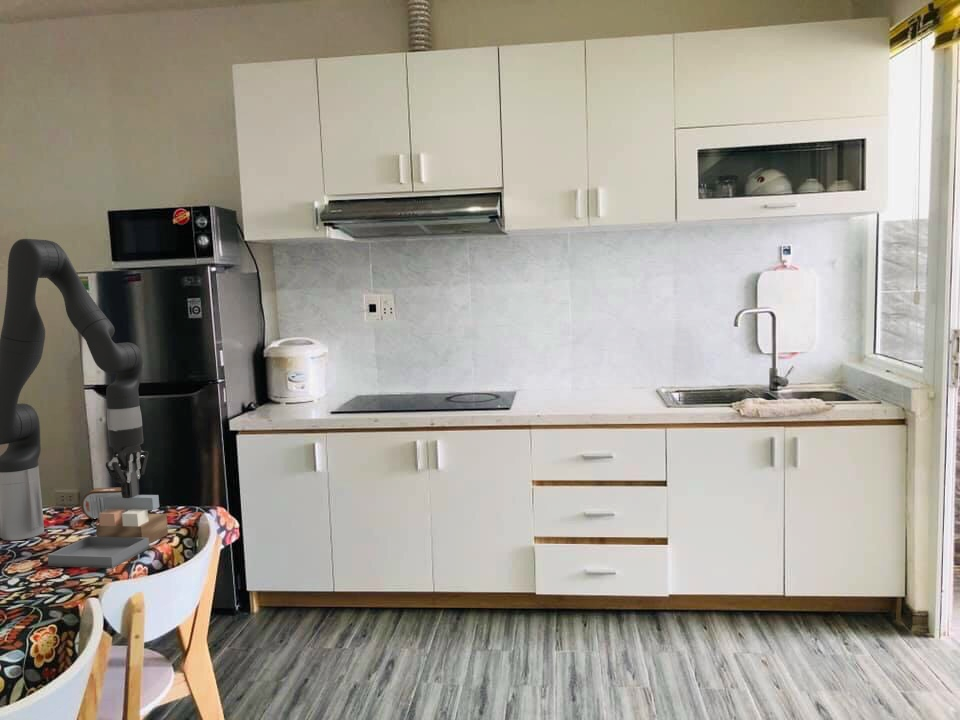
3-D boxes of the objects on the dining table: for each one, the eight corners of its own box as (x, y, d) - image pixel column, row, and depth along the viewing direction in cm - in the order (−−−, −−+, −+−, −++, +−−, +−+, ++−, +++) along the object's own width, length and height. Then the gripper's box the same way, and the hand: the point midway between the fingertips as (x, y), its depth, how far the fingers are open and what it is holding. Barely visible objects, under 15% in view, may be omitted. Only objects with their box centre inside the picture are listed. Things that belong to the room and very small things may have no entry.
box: (48, 565, 165) (47, 555, 165) (89, 546, 178) (88, 536, 178) (112, 568, 162) (111, 557, 162) (149, 548, 175) (148, 537, 175)
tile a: (100, 525, 177) (98, 513, 177) (111, 520, 181) (110, 508, 181) (115, 526, 176) (114, 513, 176) (125, 520, 180) (124, 508, 180)
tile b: (122, 526, 176) (121, 513, 176) (133, 521, 180) (132, 508, 180) (138, 526, 175) (137, 513, 175) (148, 521, 179) (147, 509, 179)
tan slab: (97, 546, 178) (96, 525, 177) (125, 532, 187) (123, 513, 187) (142, 547, 175) (141, 526, 175) (168, 533, 185) (166, 514, 185)
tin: (142, 515, 202) (140, 485, 202) (137, 519, 199) (135, 488, 198) (86, 518, 202) (84, 488, 201) (80, 522, 199) (78, 491, 198)
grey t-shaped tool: (104, 509, 181) (101, 464, 180) (111, 506, 183) (107, 462, 183) (153, 510, 179) (149, 465, 178) (159, 507, 181) (155, 462, 180)
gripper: (129, 420, 187) (135, 488, 188) (91, 431, 173) (97, 504, 175) (156, 420, 185) (161, 488, 187) (120, 431, 172) (126, 504, 173)
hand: (130, 495), depth 181 cm, fingers closed on grey t-shaped tool, 2 cm apart
